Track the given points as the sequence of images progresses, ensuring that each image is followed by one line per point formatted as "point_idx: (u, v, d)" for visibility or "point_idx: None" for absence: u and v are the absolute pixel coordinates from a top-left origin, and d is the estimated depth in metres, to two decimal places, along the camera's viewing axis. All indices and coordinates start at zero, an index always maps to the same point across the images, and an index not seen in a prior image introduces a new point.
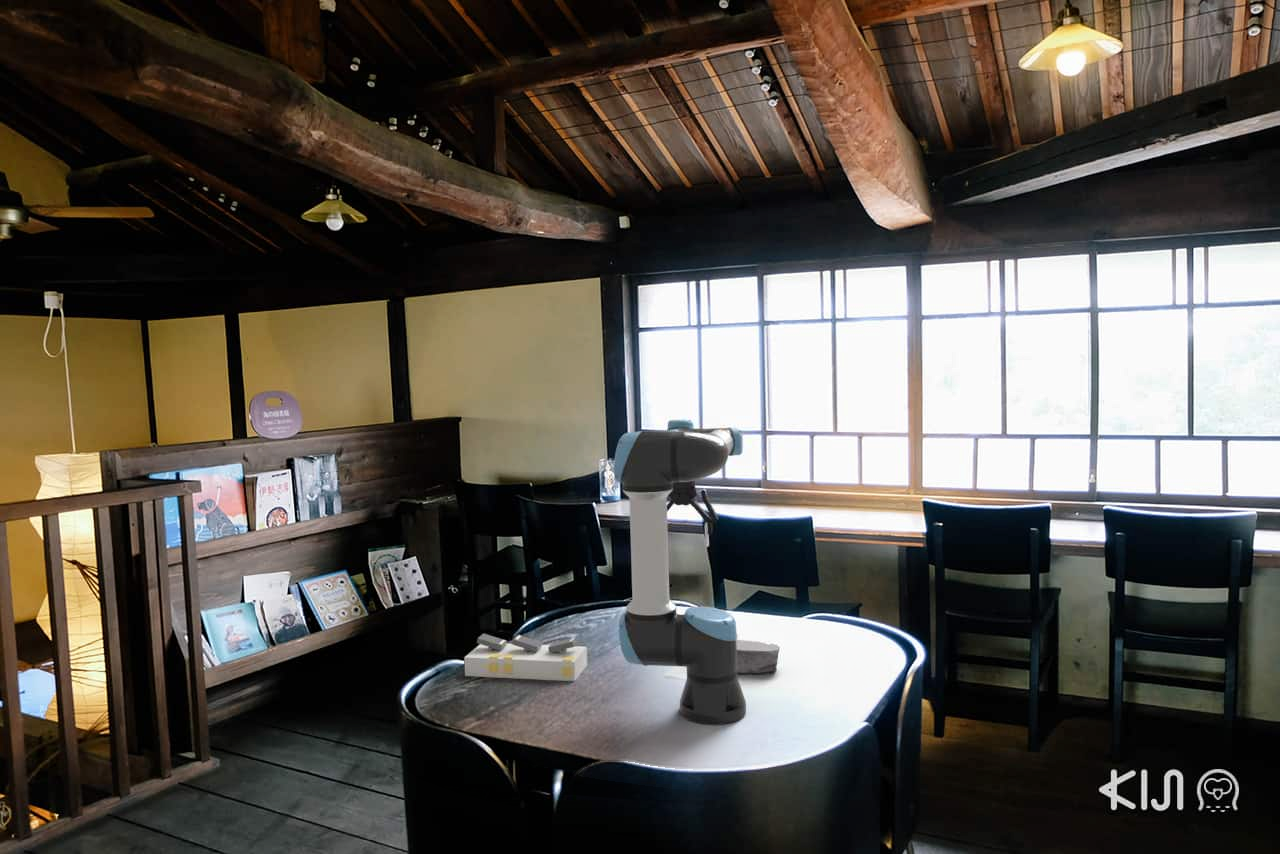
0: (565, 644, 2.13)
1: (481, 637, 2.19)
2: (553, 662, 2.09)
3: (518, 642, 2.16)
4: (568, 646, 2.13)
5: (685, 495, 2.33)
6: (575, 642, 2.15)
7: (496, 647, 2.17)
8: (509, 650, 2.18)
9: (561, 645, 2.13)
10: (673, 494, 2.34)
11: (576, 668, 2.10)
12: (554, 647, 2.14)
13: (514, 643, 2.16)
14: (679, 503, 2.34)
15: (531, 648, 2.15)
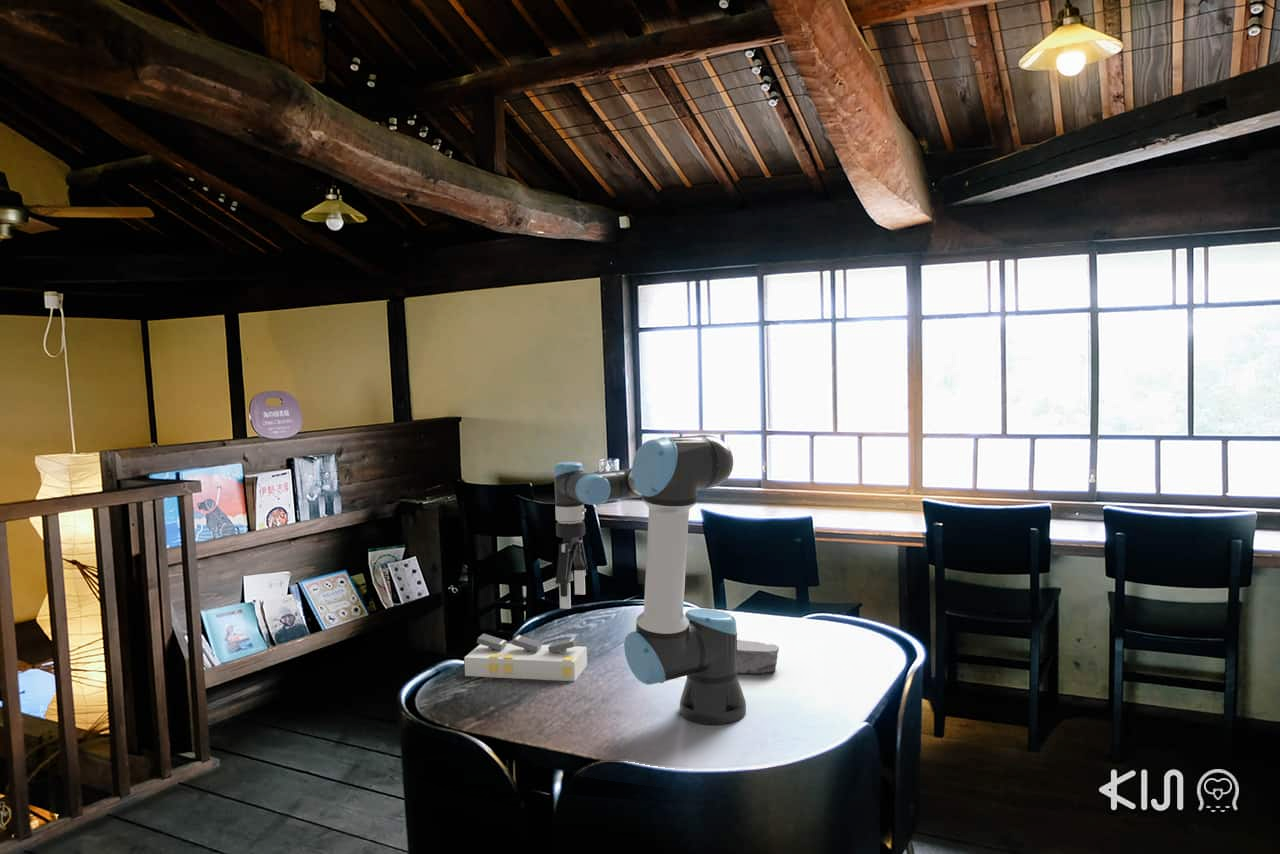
0: (565, 644, 2.13)
1: (481, 637, 2.19)
2: (553, 662, 2.09)
3: (518, 642, 2.16)
4: (568, 646, 2.13)
5: None
6: (575, 642, 2.15)
7: (496, 647, 2.17)
8: (509, 650, 2.18)
9: (561, 645, 2.13)
10: None
11: (576, 668, 2.10)
12: (554, 647, 2.14)
13: (514, 643, 2.16)
14: None
15: (531, 648, 2.15)
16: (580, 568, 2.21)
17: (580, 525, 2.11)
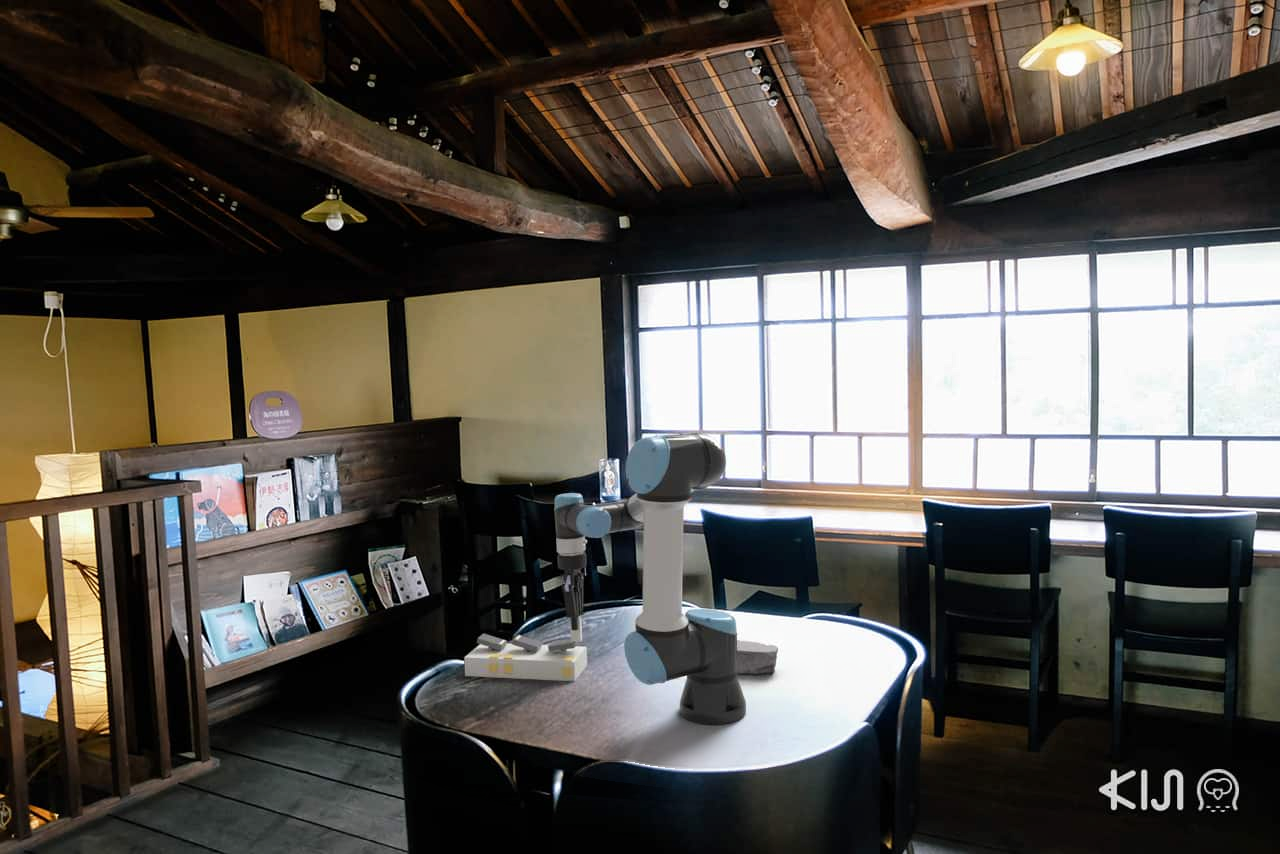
0: (565, 644, 2.13)
1: (481, 637, 2.19)
2: (553, 662, 2.09)
3: (518, 642, 2.16)
4: (568, 647, 2.13)
5: None
6: (575, 643, 2.15)
7: (496, 647, 2.17)
8: (509, 650, 2.18)
9: (561, 645, 2.13)
10: None
11: (576, 668, 2.10)
12: (554, 646, 2.14)
13: (514, 643, 2.16)
14: None
15: (531, 648, 2.15)
16: None
17: (581, 557, 2.11)
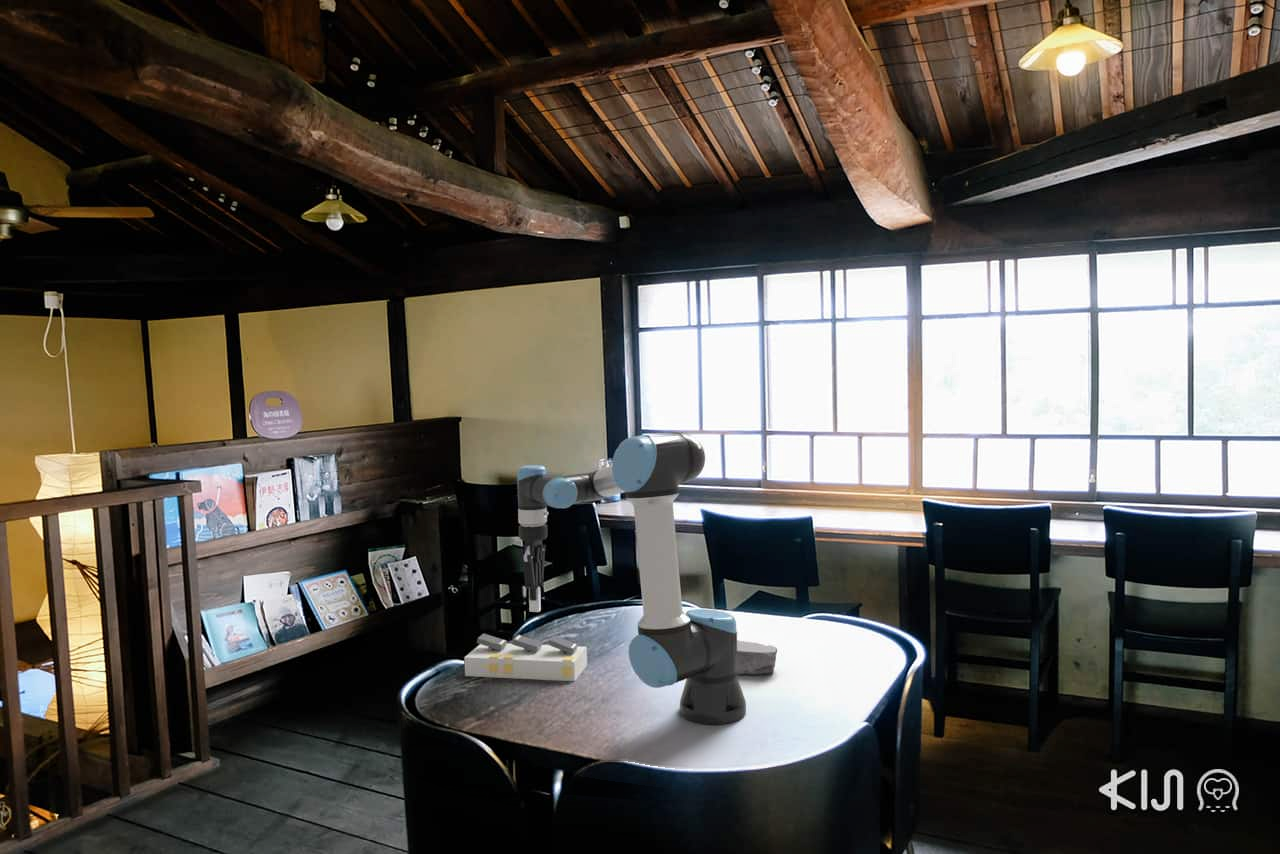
0: (566, 647, 2.13)
1: (481, 637, 2.19)
2: (553, 662, 2.09)
3: (518, 642, 2.16)
4: (567, 651, 2.13)
5: None
6: (575, 650, 2.15)
7: (496, 647, 2.17)
8: (509, 650, 2.18)
9: (562, 646, 2.13)
10: None
11: (576, 668, 2.10)
12: (555, 643, 2.14)
13: (514, 643, 2.16)
14: None
15: (531, 648, 2.15)
16: None
17: (542, 528, 2.13)
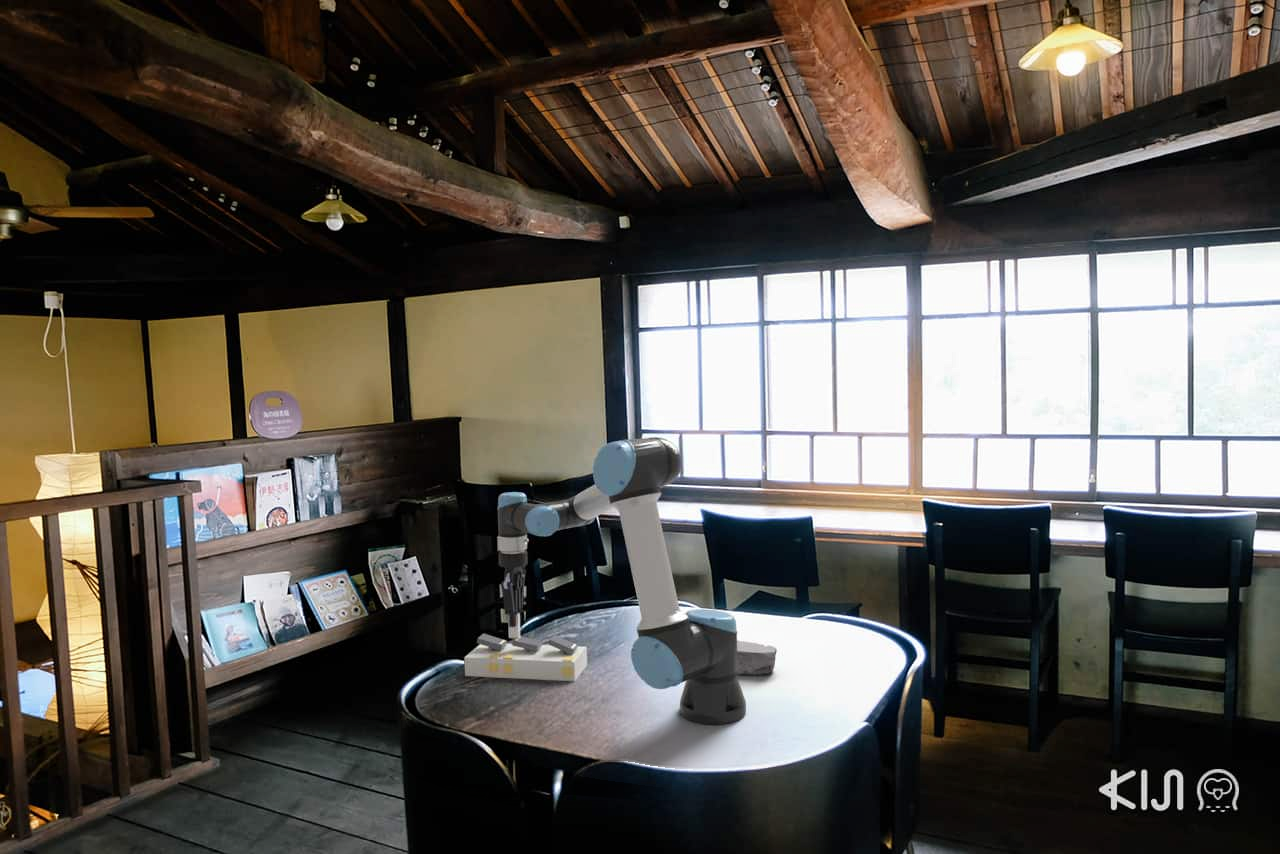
0: (566, 647, 2.13)
1: (481, 637, 2.19)
2: (553, 662, 2.09)
3: (518, 643, 2.16)
4: (567, 651, 2.13)
5: None
6: (574, 650, 2.15)
7: (496, 647, 2.17)
8: (509, 650, 2.18)
9: (562, 646, 2.13)
10: None
11: (576, 668, 2.10)
12: (555, 643, 2.14)
13: (514, 644, 2.16)
14: None
15: (531, 647, 2.15)
16: None
17: (522, 555, 2.14)
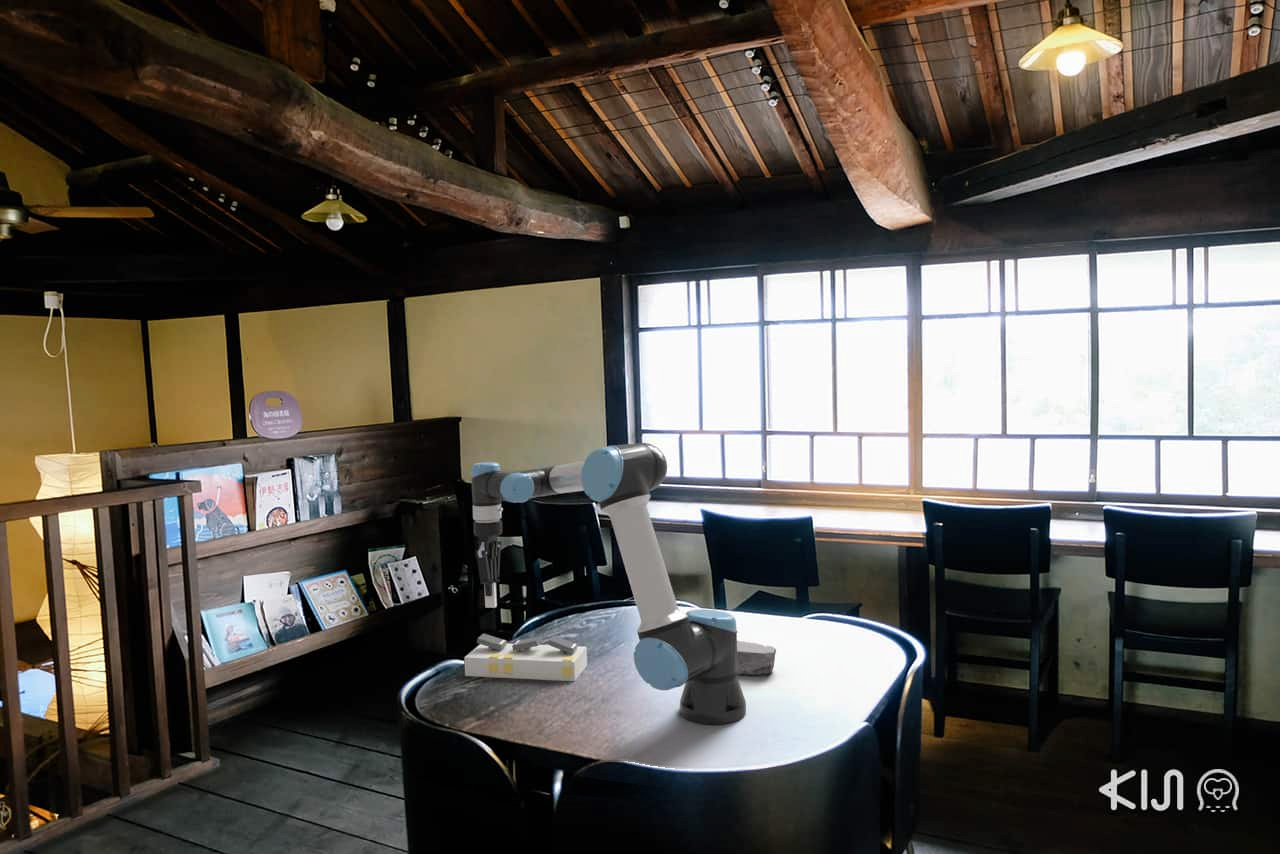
0: (566, 647, 2.13)
1: (481, 637, 2.19)
2: (553, 662, 2.09)
3: (517, 645, 2.16)
4: (567, 651, 2.13)
5: None
6: (575, 650, 2.15)
7: (496, 647, 2.17)
8: (509, 650, 2.18)
9: (562, 646, 2.13)
10: None
11: (576, 668, 2.10)
12: (555, 643, 2.14)
13: (515, 648, 2.16)
14: None
15: (531, 645, 2.15)
16: None
17: (496, 524, 2.15)
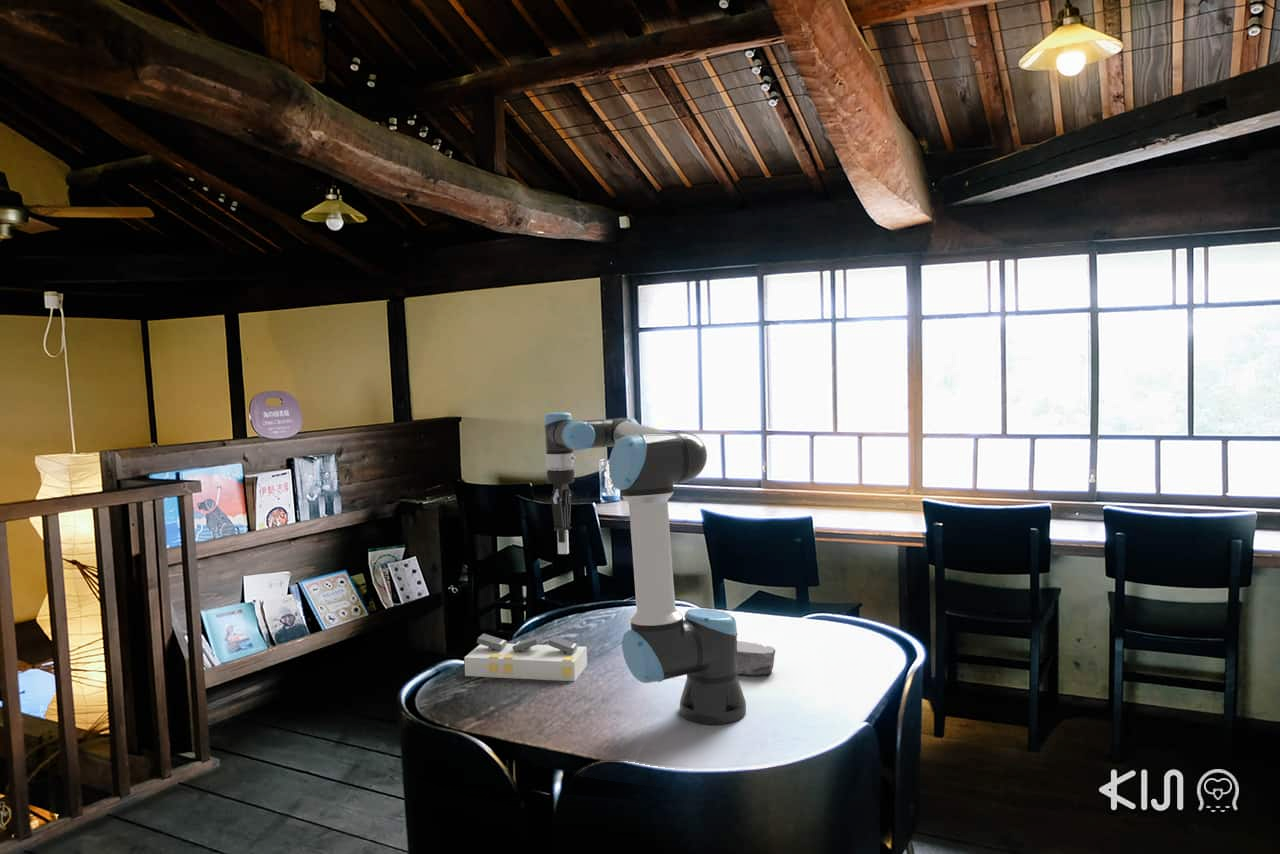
0: (566, 647, 2.13)
1: (481, 637, 2.19)
2: (553, 662, 2.09)
3: (518, 646, 2.16)
4: (567, 650, 2.13)
5: None
6: (575, 649, 2.15)
7: (496, 647, 2.17)
8: (509, 650, 2.18)
9: (562, 646, 2.13)
10: None
11: (576, 668, 2.10)
12: (555, 643, 2.14)
13: (515, 649, 2.16)
14: None
15: (531, 644, 2.15)
16: None
17: (570, 472, 2.21)
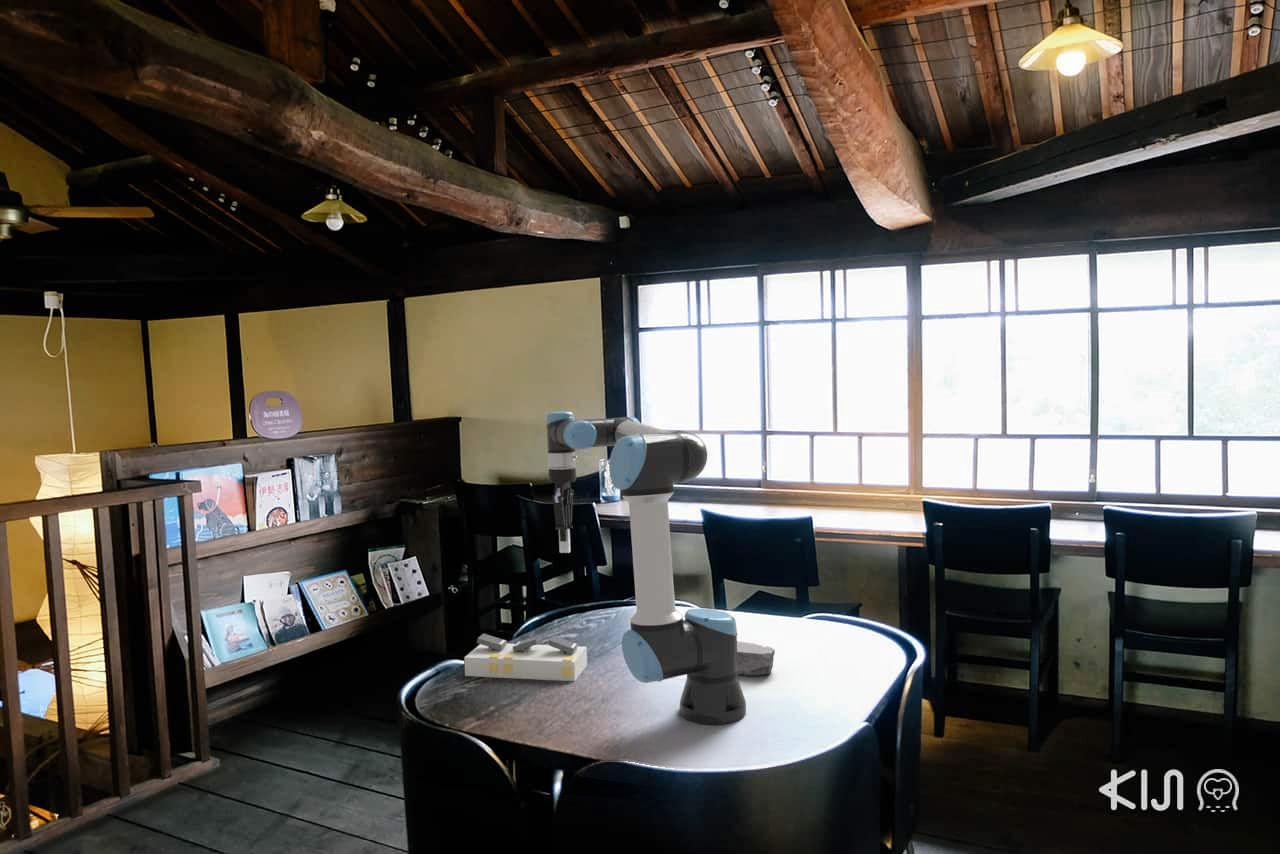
0: (566, 647, 2.13)
1: (481, 637, 2.19)
2: (553, 662, 2.09)
3: (518, 646, 2.16)
4: (567, 650, 2.13)
5: None
6: (575, 649, 2.15)
7: (496, 647, 2.17)
8: (509, 650, 2.18)
9: (562, 646, 2.13)
10: None
11: (576, 668, 2.10)
12: (555, 643, 2.14)
13: (515, 649, 2.16)
14: None
15: (531, 644, 2.15)
16: None
17: (571, 471, 2.21)
